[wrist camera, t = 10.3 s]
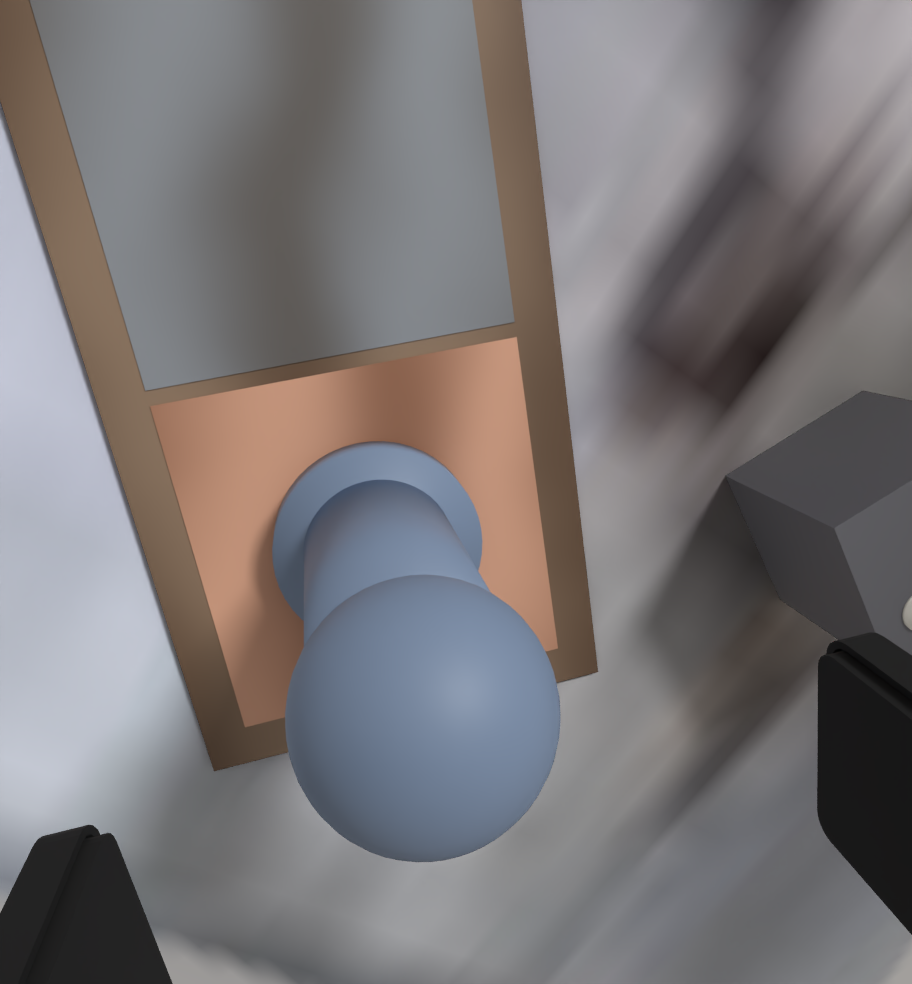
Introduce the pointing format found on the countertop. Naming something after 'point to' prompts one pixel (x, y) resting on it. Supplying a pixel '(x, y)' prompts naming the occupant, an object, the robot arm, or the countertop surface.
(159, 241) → the board
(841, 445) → the die
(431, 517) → the pawn
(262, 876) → the countertop surface
